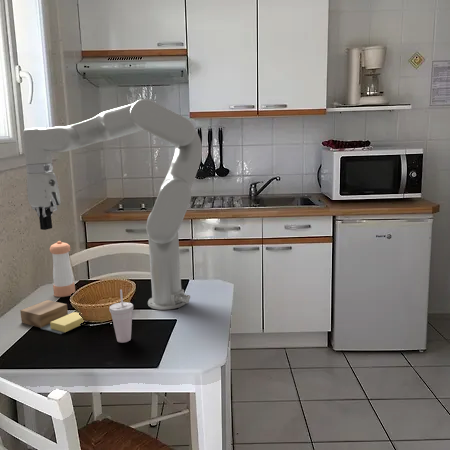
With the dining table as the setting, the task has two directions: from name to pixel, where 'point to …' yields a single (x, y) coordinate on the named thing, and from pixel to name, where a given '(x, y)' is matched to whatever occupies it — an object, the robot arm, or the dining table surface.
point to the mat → (48, 328)
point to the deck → (43, 313)
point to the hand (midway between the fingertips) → (46, 228)
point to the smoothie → (122, 319)
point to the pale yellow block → (67, 322)
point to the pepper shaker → (62, 270)
